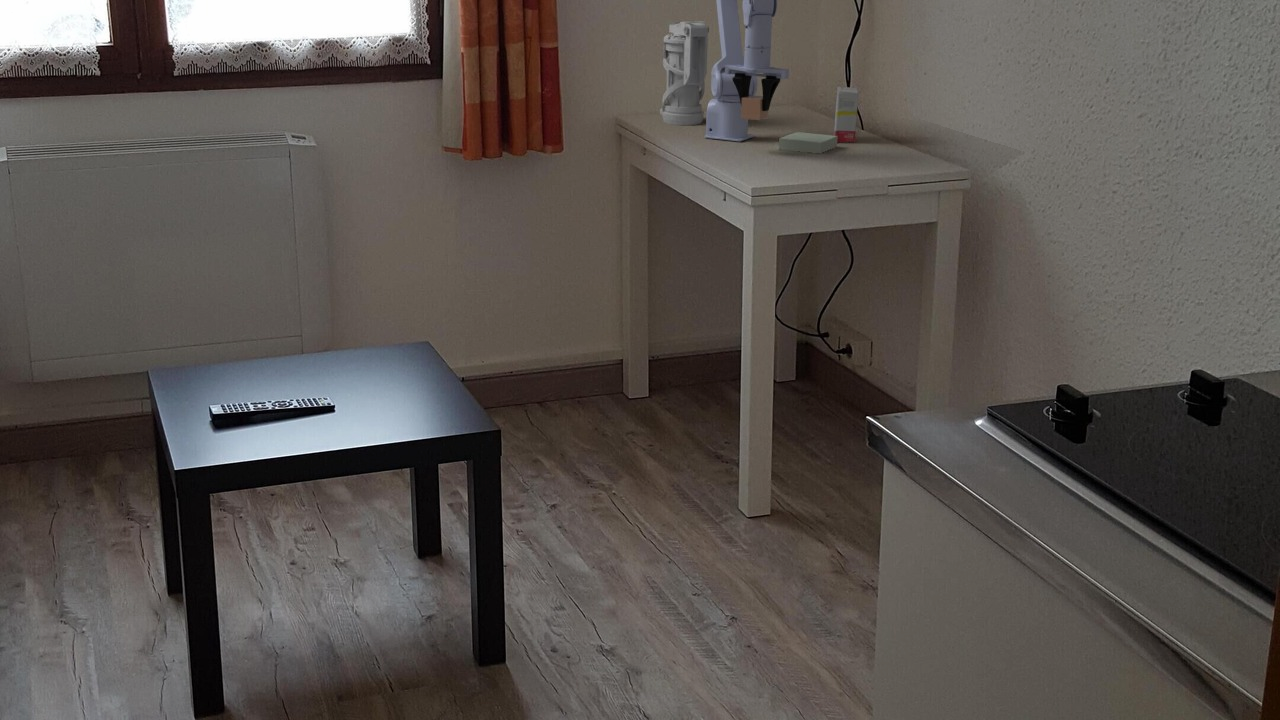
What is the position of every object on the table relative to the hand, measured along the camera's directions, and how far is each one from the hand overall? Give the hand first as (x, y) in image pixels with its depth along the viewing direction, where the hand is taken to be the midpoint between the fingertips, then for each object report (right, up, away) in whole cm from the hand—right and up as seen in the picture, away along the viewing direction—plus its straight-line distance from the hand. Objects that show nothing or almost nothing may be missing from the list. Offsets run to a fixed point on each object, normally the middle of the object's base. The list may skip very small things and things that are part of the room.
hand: (755, 109), depth 301 cm
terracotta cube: (0, -2, 0) cm, 2 cm away
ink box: (+23, -4, +18) cm, 29 cm away
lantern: (-14, +3, +38) cm, 41 cm away
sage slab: (+13, -7, +7) cm, 16 cm away
